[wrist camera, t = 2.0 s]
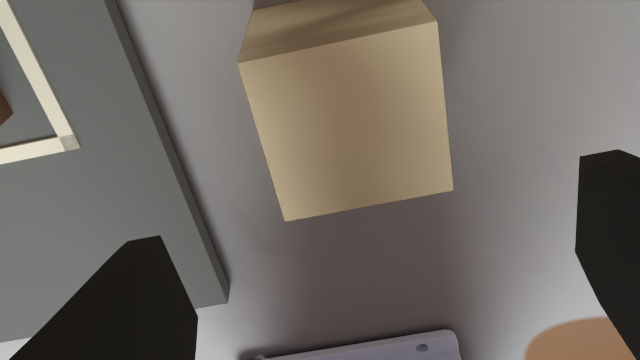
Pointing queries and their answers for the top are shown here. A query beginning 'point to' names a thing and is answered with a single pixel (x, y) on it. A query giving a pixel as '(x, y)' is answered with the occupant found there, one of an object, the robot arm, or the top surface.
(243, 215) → the top surface
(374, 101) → the maple cube
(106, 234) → the gray mat
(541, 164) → the top surface
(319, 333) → the top surface
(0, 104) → the walnut block
